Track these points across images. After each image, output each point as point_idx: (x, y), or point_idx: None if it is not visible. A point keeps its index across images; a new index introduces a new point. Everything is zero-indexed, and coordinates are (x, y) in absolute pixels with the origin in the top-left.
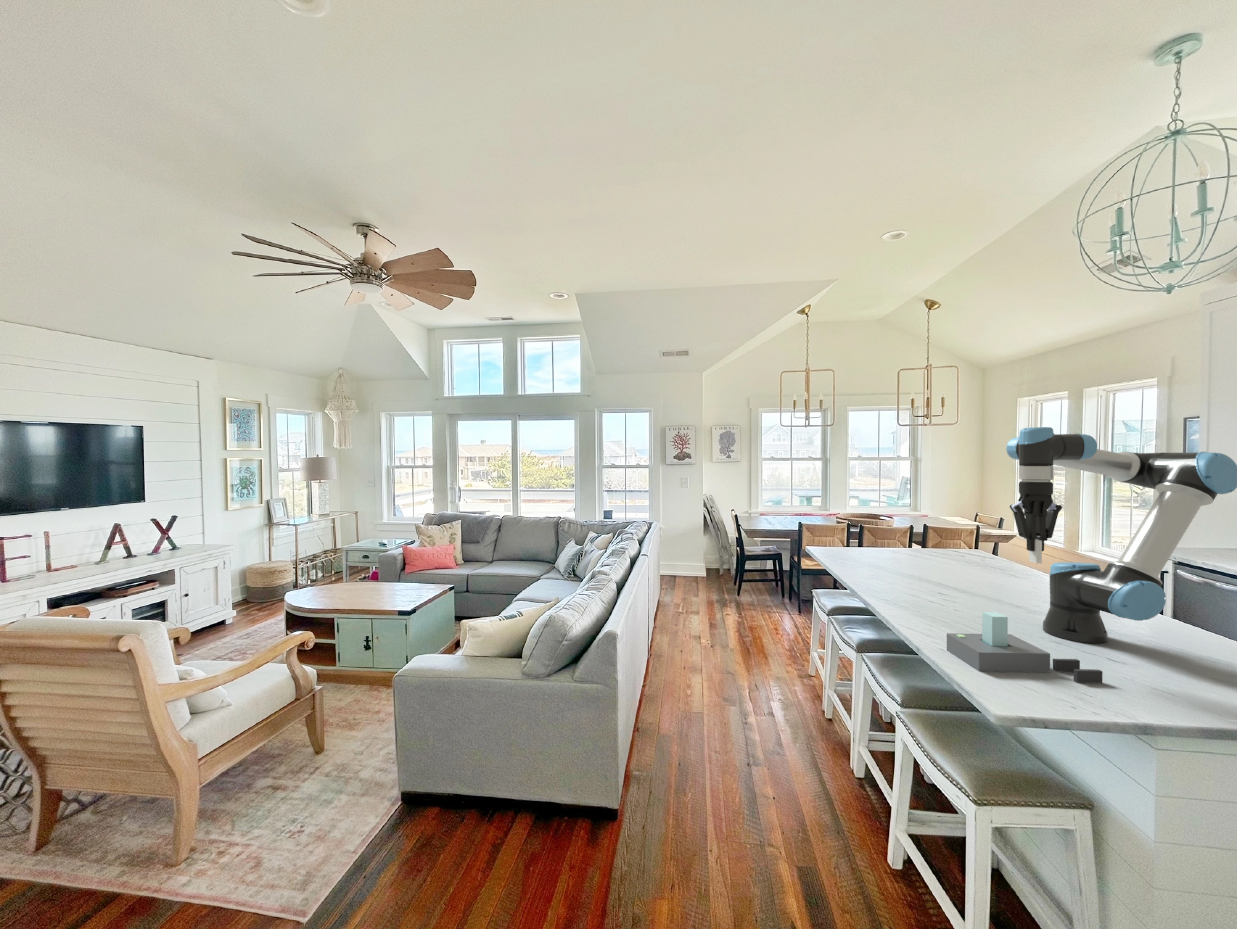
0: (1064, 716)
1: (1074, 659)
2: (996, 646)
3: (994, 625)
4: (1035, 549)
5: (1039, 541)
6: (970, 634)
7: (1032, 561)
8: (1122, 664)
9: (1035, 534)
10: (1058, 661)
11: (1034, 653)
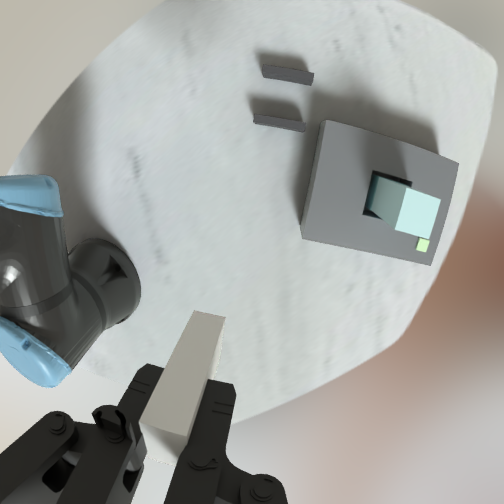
0: (430, 20)
1: (260, 120)
2: (400, 183)
3: (425, 193)
4: (204, 384)
5: (160, 423)
6: (393, 252)
7: (221, 343)
8: (137, 148)
9: (177, 489)
10: (300, 122)
11: (360, 128)
